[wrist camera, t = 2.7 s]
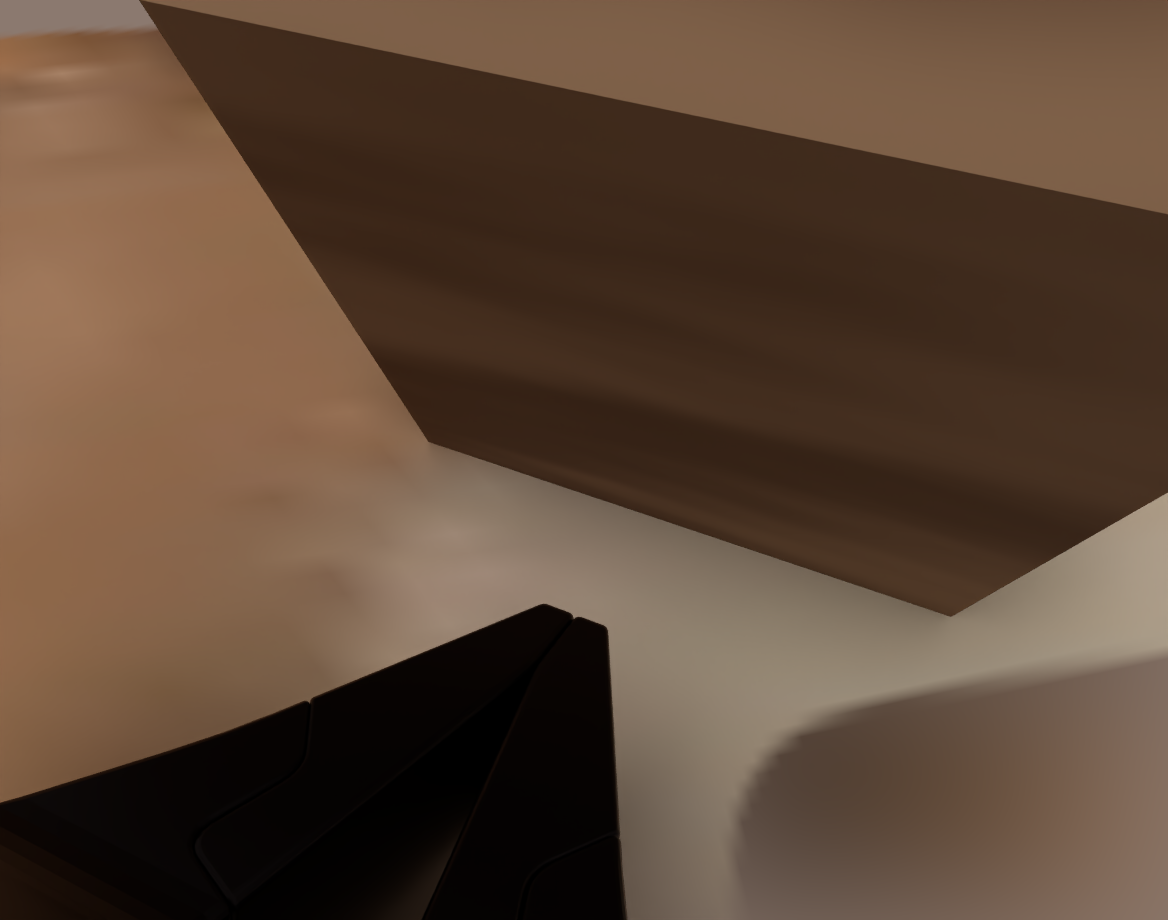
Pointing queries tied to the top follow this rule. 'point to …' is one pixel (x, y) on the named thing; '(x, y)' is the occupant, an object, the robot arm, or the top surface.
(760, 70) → the block
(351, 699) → the robot arm
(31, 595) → the top surface
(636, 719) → the top surface
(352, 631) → the top surface
